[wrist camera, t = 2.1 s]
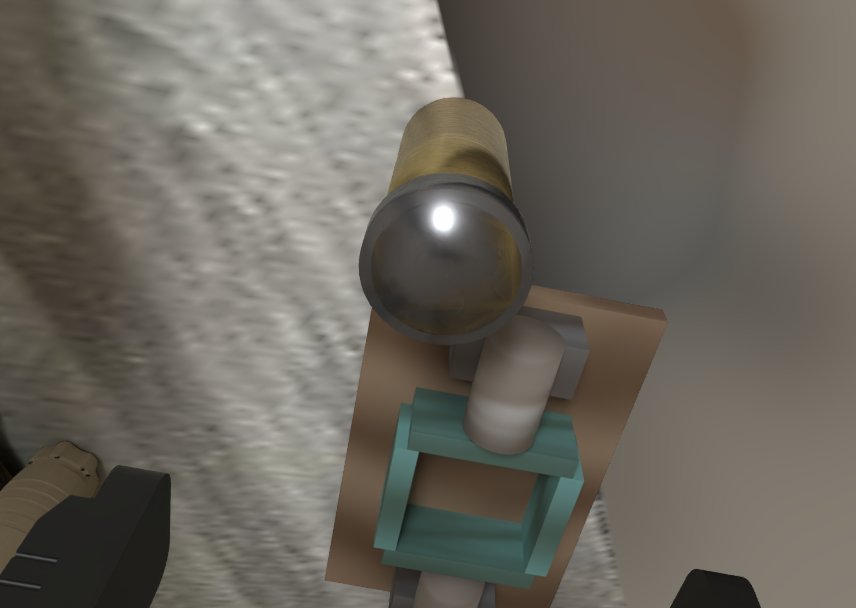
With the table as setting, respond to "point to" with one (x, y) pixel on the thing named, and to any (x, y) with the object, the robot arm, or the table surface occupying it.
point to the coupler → (448, 231)
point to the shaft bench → (486, 452)
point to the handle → (42, 491)
